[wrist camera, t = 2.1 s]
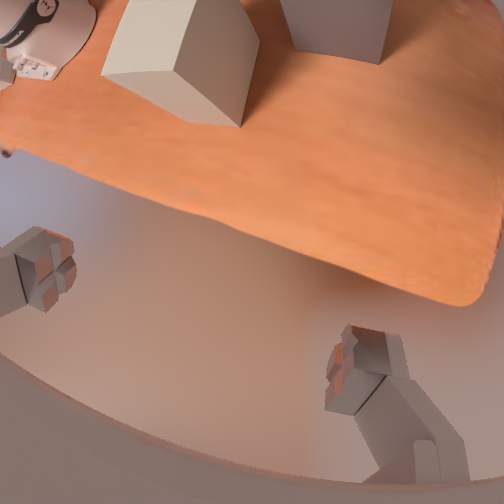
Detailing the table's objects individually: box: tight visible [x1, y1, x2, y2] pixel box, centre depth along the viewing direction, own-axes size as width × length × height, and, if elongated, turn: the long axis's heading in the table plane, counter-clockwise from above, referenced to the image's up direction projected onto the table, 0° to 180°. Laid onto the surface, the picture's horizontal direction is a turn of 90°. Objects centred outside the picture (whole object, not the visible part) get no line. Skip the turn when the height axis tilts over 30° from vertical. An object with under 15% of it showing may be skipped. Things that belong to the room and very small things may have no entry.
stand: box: [101, 0, 260, 128], centre depth 27 cm, size 7×12×16 cm, turn 168°
